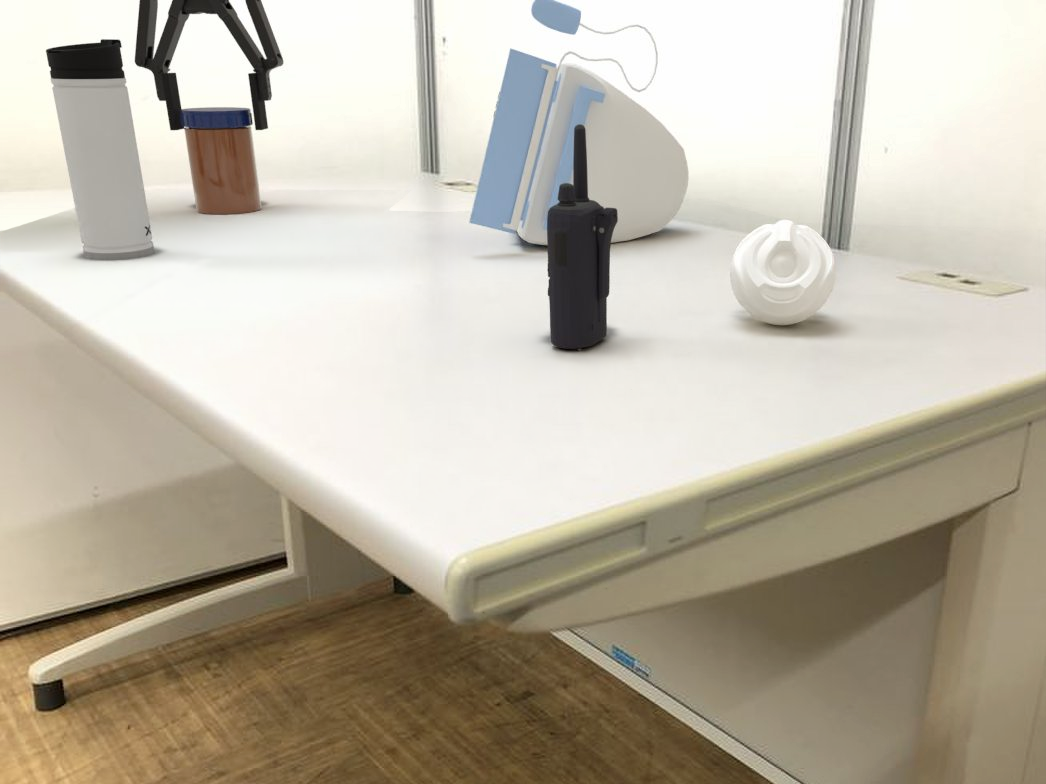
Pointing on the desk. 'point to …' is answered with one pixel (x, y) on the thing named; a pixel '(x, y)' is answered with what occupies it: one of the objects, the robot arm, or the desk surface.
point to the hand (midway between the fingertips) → (219, 129)
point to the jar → (223, 170)
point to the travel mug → (101, 149)
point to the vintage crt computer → (548, 145)
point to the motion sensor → (782, 273)
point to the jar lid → (216, 117)
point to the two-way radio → (578, 258)
